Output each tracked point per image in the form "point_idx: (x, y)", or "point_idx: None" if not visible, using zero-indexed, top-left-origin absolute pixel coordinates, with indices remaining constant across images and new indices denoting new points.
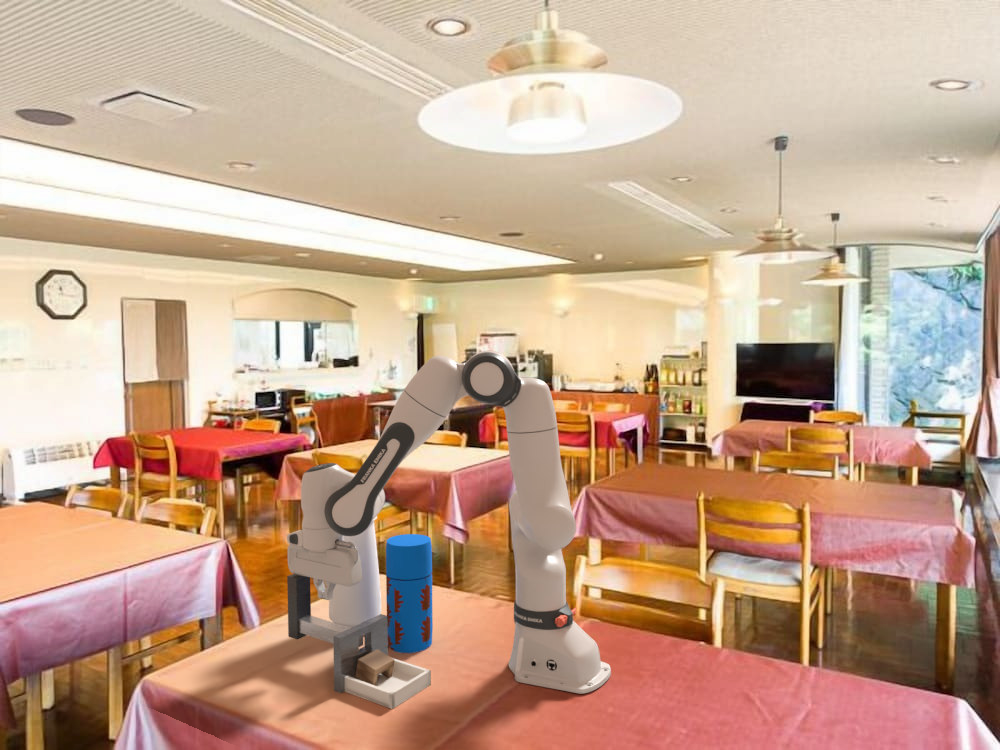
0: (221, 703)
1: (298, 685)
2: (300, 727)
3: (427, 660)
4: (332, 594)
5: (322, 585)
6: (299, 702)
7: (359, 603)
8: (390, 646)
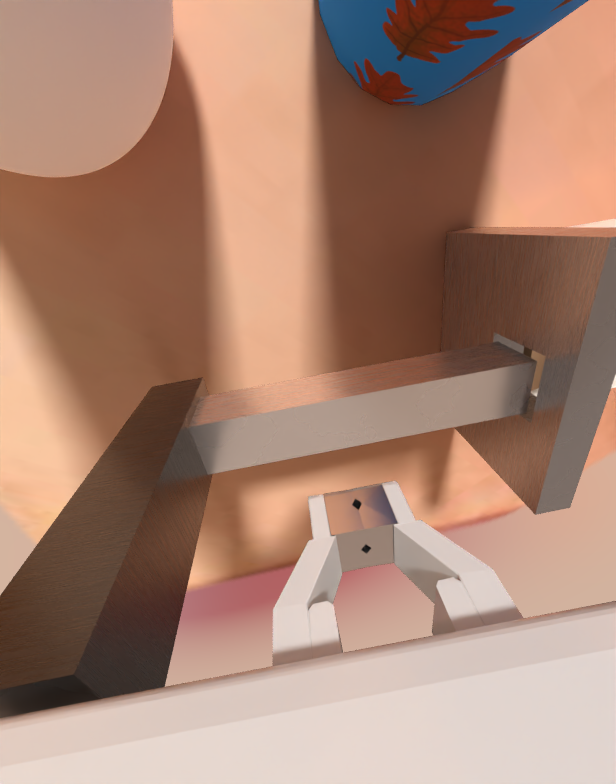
0: (297, 556)
1: (349, 448)
2: (477, 503)
3: (576, 66)
4: (405, 499)
5: (327, 578)
6: (410, 474)
7: (118, 13)
8: (395, 100)
